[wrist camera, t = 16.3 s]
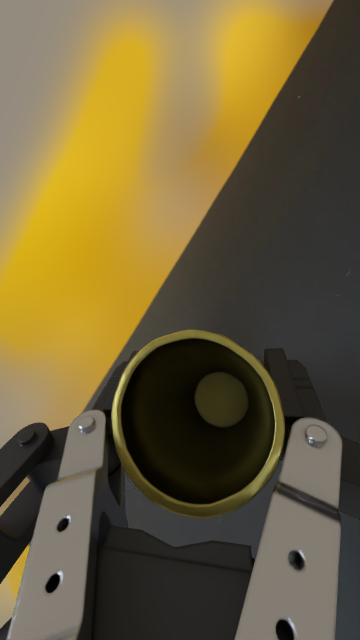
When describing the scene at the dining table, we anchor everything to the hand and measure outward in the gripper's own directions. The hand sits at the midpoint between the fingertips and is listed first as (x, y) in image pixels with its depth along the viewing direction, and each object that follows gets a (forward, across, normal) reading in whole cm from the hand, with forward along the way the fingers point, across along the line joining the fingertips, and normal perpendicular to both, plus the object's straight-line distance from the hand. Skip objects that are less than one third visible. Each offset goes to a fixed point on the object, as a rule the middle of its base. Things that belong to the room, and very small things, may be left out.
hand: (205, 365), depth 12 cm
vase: (+6, 0, +9) cm, 11 cm away
